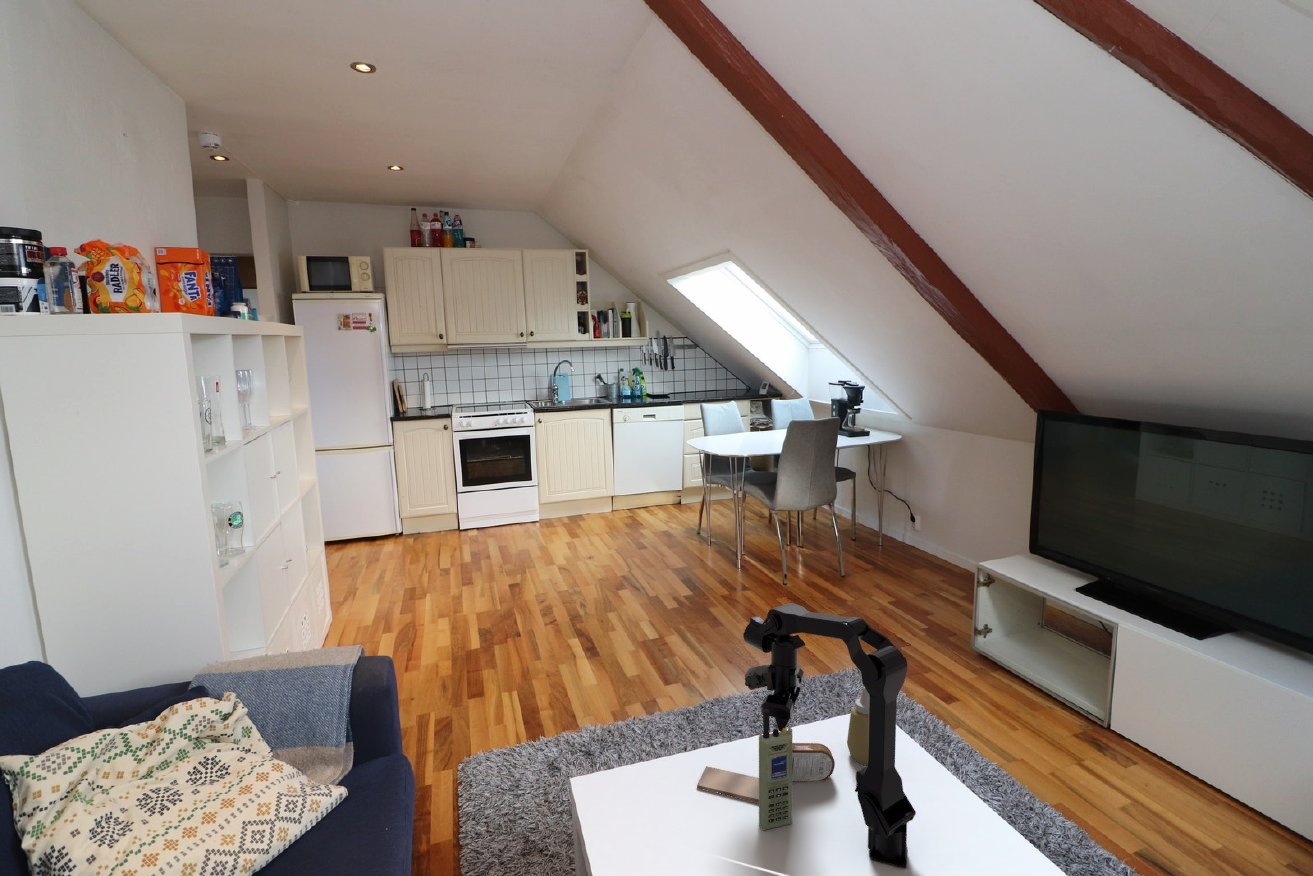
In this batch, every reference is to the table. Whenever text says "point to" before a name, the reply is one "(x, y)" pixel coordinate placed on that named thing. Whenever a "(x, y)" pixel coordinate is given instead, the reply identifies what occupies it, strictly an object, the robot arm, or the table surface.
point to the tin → (811, 762)
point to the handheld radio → (775, 776)
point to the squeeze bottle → (859, 729)
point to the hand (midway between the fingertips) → (783, 726)
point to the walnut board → (730, 784)
